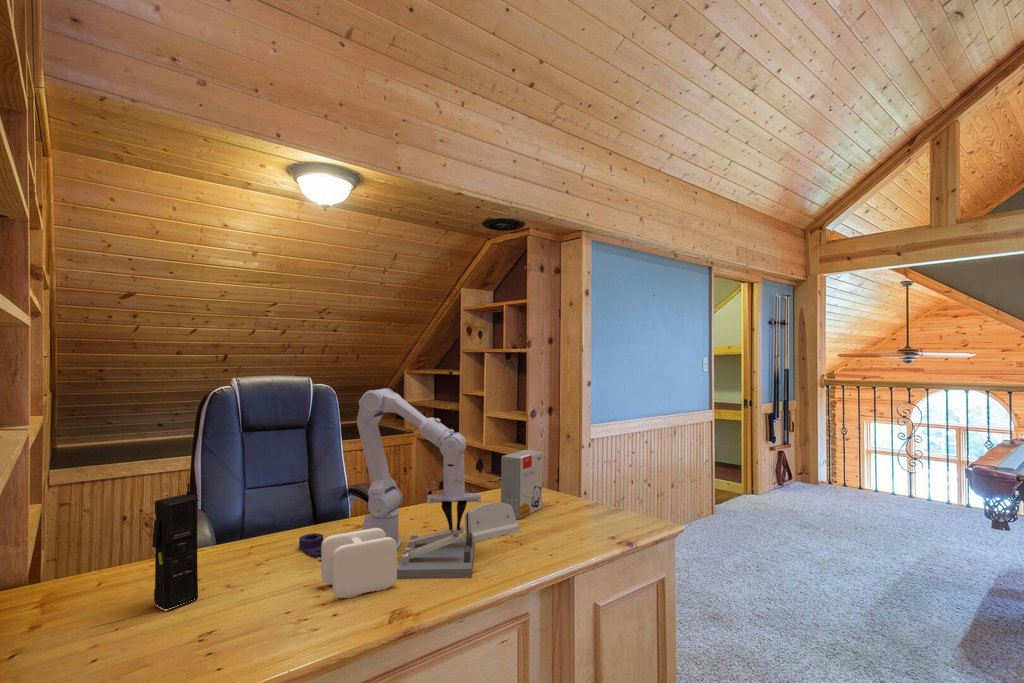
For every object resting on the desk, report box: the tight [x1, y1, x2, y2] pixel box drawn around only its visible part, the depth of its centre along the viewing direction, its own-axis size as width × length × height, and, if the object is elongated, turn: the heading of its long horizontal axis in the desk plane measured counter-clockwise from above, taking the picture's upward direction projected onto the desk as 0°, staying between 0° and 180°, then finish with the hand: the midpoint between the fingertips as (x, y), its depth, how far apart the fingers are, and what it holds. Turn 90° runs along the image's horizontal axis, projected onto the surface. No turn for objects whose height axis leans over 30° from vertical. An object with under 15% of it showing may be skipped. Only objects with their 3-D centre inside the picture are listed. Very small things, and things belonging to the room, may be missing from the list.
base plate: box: [397, 533, 476, 579], centre depth 138 cm, size 18×22×5 cm
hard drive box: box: [500, 449, 544, 520], centre depth 179 cm, size 16×8×20 cm, turn 147°
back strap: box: [410, 525, 465, 545], centre depth 143 cm, size 15×3×1 cm, turn 92°
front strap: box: [405, 533, 461, 559], centre depth 133 cm, size 15×3×1 cm, turn 92°
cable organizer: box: [320, 528, 398, 599], centre depth 123 cm, size 15×11×12 cm
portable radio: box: [151, 483, 199, 609], centre depth 115 cm, size 8×6×25 cm
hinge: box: [464, 502, 521, 543], centre depth 158 cm, size 17×5×10 cm, turn 123°
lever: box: [298, 532, 324, 559], centre depth 145 cm, size 12×6×3 cm, turn 36°
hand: (454, 528), depth 143 cm, fingers closed
